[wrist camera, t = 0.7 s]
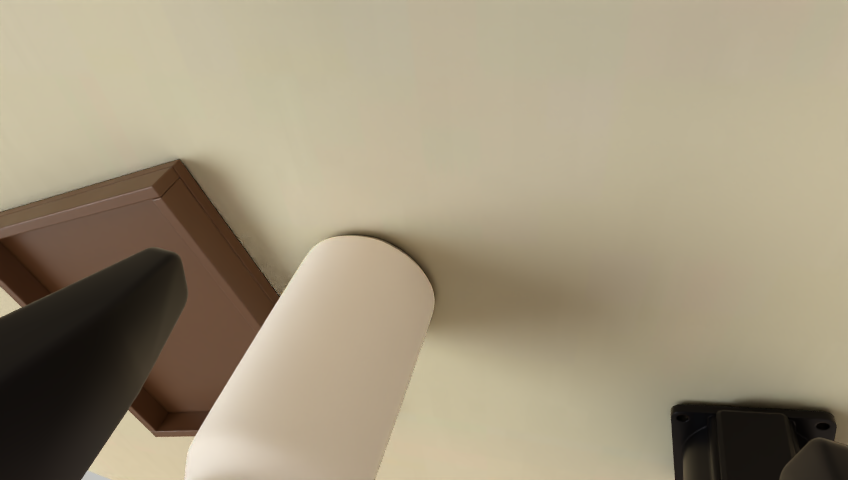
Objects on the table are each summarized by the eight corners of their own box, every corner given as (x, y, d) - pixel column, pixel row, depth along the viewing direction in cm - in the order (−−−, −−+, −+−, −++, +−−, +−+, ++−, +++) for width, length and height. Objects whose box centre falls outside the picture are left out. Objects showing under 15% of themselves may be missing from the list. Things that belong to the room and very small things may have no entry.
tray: (356, 403, 36) (343, 434, 35) (173, 410, 43) (155, 437, 42) (179, 158, 27) (151, 185, 26) (-17, 216, 34) (-48, 241, 33)
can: (438, 242, 26) (334, 511, 18) (437, 341, 31) (352, 598, 22) (297, 217, 28) (135, 457, 19) (315, 316, 32) (189, 548, 23)
